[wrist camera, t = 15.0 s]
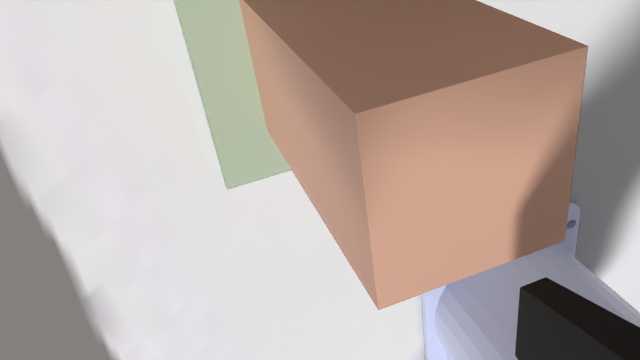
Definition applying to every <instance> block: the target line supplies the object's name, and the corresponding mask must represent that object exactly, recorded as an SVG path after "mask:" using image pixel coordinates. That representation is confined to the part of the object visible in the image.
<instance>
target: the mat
mask: <svg viewBox="0 0 640 360" xmlns="http://www.w3.org/2000/svg"><path fill="white" fill-rule="evenodd" d="M174 2H175V6H176V10H177V13H178V17H179V20H180V24H181V27H182V31H183V35H184V38H185V42H186V45H187V49H188V52H189V56H190V60H191V63H192V67H193V70H194V74H195V78H196V81H197V85H198V88H199V92H200V95H201V99H202V103H203V106H204V110H205V113H206V117H207V120H208V124H209V128H210V131H211V135H212V138H213V142H214V146H215V149H216V153H217V156H218V160H219V163H220V167H221V171H222V174H223V178H224V181H225V185H226V188H227V190H228V189H231V188H234V187H238V186H241V185H244V184H248V183H251V182H254V181H257V180H261V179H264V178H267V177H270V176H274V175H277V174H280V173H283V172H287V171H290V170H291V168H290V166H289V165H288V163H287V162H286V160H285V158H284V157H283V155H282V153H281V152H280V150H279V149H278V147H277V145H276V144H275V142H274V141H273V139H272V137H271V136H270V134H269V133H268V131H267V127H266V122H265V118H264V113H263V109H262V104H261V99H260V95H259V90H258V86H257V81H256V76H255V72H254V67H253V63H252V58H251V53H250V49H249V44H248V39H247V35H246V30H245V26H244V21H243V16H242V12H241V7H240V3H239V0H174Z"/></svg>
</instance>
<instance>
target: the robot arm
mask: <svg viewBox="0 0 640 360" xmlns="http://www.w3.org/2000/svg"><path fill="white" fill-rule="evenodd" d="M580 214H581V209H580V207H579V206H577V205H576V204H575V203H572V202H571V203H569V211H568V220H567V228H566V236H565V241H564V242H561V243H558V244H555V245H553V246H550V247H547V248H545V249H542V250H539V251H537V252H534V253H531V254H528V255H526V256H523V257H520V258H518V259H515V260H512V261H510V262H507V263H504V264H501V265H499V266H496V267H493V268H491V269H488V270H485V271H482V272H480V273H477V274H474V275H472V276H469V277H466V278H464V279H461V280H458V281H455V282H453V283H450V284H447V285H445V286H442V287H439V288H437V289H434V290H431V291H428V292H426V293H423V294H421V301H422V316H423V332H424V348H425V360H640V313H639V312H638V311H637V310H636V309H635V308H633V307H632V306H631V305H630V304H629V303H628V302H626V301H625V300H624V299H623V298H622V297H621V296H619V295H618V294H617V293H616V292H615V291H614V290H612V289H611V288H610V287H609V286H608V285H607V284H605V283H604V282H603V281H602V280H601V279H599V278H598V277H597V276H596V275H595V274H594V273H592V272H591V271H590V270H589V269H588V268H587V267H585V266H584V265H583V264H582V263H581V262H580V261H578V260H577V259H576V258H575V252H576V245H577V237H578V230H579V222H580Z"/></svg>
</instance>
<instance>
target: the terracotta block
mask: <svg viewBox="0 0 640 360" xmlns="http://www.w3.org/2000/svg"><path fill="white" fill-rule="evenodd" d="M239 3H240V7H241V12H242V16H243V21H244V26H245V30H246V35H247V39H248V44H249V49H250V53H251V58H252V63H253V67H254V72H255V76H256V81H257V86H258V90H259V95H260V99H261V104H262V109H263V113H264V118H265V122H266V127H267V131H268V133H269V134H270V136H271V137H272V139H273V141H274V142H275V144H276V145H277V147H278V149H279V150H280V152H281V153H282V155H283V157H284V158H285V160H286V162H287V163H288V165H289V166H290V168H291V170H292V171H293V173H294V174H295V176H296V178H297V179H298V181H299V183H300V184H301V186H302V187H303V189H304V191H305V192H306V194H307V195H308V197H309V199H310V200H311V202H312V204H313V205H314V207H315V208H316V210H317V212H318V213H319V215H320V216H321V218H322V220H323V221H324V223H325V224H326V226H327V228H328V229H329V231H330V233H331V234H332V236H333V237H334V239H335V241H336V242H337V244H338V245H339V247H340V249H341V250H342V252H343V254H344V255H345V257H346V258H347V260H348V262H349V263H350V265H351V266H352V268H353V270H354V271H355V273H356V275H357V276H358V278H359V279H360V281H361V283H362V284H363V286H364V287H365V289H366V291H367V292H368V294H369V295H370V297H371V299H372V300H373V302H374V304H375V305H376V307H377V308H378V310H380V309H383V308H385V307H388V306H391V305H393V304H396V303H399V302H401V301H404V300H407V299H410V298H412V297H415V296H418V295H420V294H423V293H426V292H428V291H431V290H434V289H437V288H439V287H442V286H445V285H447V284H450V283H453V282H455V281H458V280H461V279H464V278H466V277H469V276H472V275H474V274H477V273H480V272H482V271H485V270H488V269H491V268H493V267H496V266H499V265H501V264H504V263H507V262H510V261H512V260H515V259H518V258H520V257H523V256H526V255H528V254H531V253H534V252H537V251H539V250H542V249H545V248H547V247H550V246H553V245H555V244H558V243H561V242H564V241H565V236H566V228H567V220H568V211H569V203H570V194H571V186H572V178H573V169H574V161H575V152H576V144H577V135H578V127H579V119H580V110H581V102H582V93H583V85H584V77H585V68H586V60H587V51H588V46H587V45H584V44H582V43H579V42H577V41H574V40H572V39H570V38H567V37H565V36H562V35H560V34H557V33H555V32H552V31H550V30H547V29H545V28H542V27H540V26H538V25H535V24H533V23H530V22H528V21H525V20H523V19H520V18H518V17H515V16H513V15H511V14H508V13H506V12H503V11H501V10H498V9H496V8H493V7H491V6H488V5H486V4H483V3H481V2H479V1H476V0H239Z"/></svg>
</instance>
